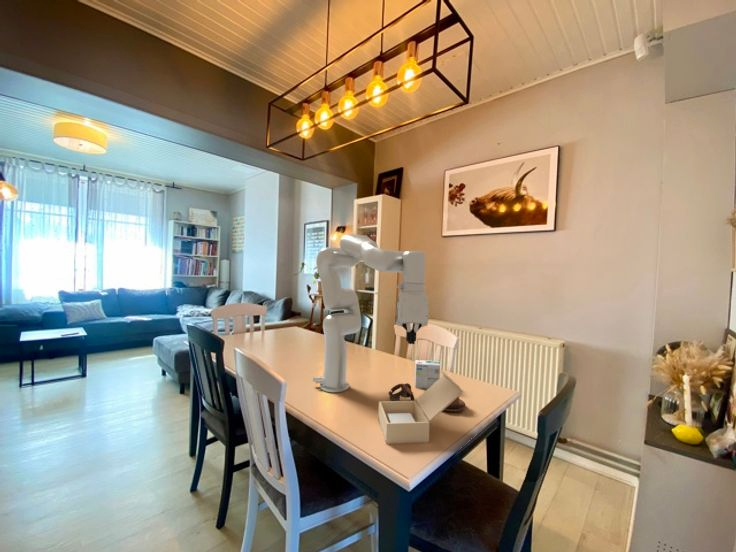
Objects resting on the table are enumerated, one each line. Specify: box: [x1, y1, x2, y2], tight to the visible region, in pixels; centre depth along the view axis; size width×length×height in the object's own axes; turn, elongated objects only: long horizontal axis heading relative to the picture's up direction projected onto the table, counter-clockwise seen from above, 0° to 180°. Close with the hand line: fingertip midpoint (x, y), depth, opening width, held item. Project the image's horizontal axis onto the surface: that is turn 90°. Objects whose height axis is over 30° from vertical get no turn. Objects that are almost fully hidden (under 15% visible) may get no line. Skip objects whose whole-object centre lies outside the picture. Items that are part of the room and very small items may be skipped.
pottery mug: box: [388, 383, 416, 401], centre depth 120 cm, size 12×10×8 cm
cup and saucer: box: [443, 395, 466, 412], centre depth 117 cm, size 12×12×6 cm
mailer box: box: [377, 400, 431, 445], centre depth 99 cm, size 13×15×6 cm
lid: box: [415, 369, 464, 423], centre depth 100 cm, size 14×15×3 cm
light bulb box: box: [414, 359, 441, 389], centre depth 137 cm, size 11×7×11 cm, turn 84°
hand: (410, 343), depth 102 cm, fingers closed
